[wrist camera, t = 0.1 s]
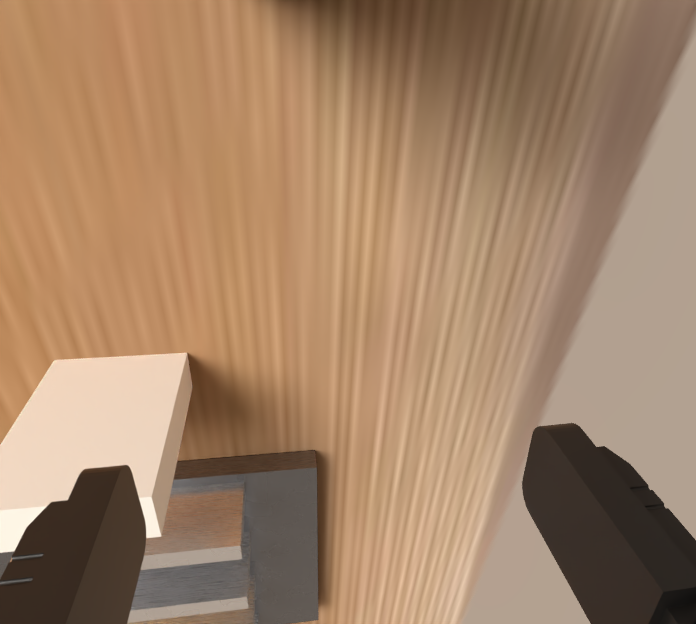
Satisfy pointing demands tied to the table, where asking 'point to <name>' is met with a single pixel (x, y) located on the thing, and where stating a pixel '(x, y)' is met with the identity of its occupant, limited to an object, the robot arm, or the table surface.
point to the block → (95, 435)
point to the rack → (233, 544)
